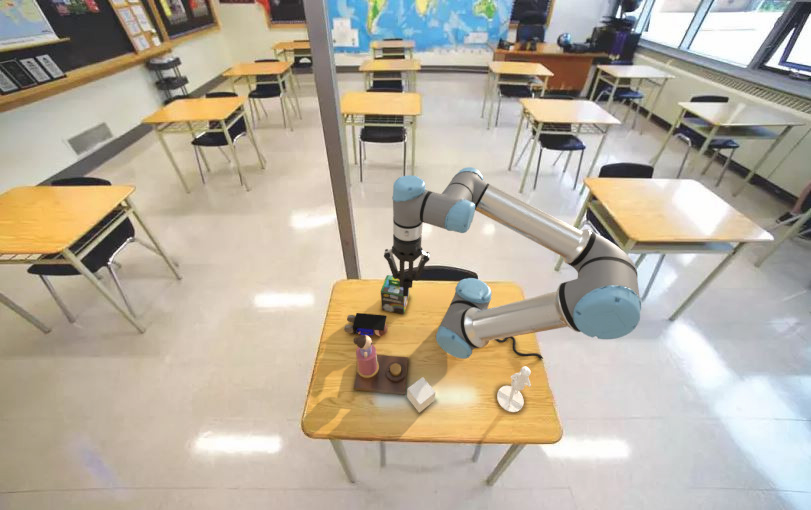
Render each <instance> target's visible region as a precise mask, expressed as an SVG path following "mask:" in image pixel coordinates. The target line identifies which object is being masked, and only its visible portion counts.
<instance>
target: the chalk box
mask: <svg viewBox="0 0 811 510" xmlns="http://www.w3.org/2000/svg"><path fill="white" fill-rule="evenodd" d="M409 298H410V289H409V290H408V297H407V296H403V287H400V280H399V279H394V278H393V275H392V274H387V275H386V276H385V279H384V281H383V284H382V286H381V288H380V299H381V300H380V301H381V302H380V303H381V310H382V311H385V312H390V313H395V314H400V315H405V312H406V310H407V306H408V303H409Z"/></svg>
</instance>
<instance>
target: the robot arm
mask: <svg viewBox="0 0 811 510" xmlns="http://www.w3.org/2000/svg"><path fill="white" fill-rule="evenodd" d="M392 187H393V188H392V197H391V200H392V215H393V216H392V233H393V234H392V244H393V245H392V246H391V248H390V249H388V248H386V249H384V253H383V258H384V259H385V260H386V261H387V263H388V267H389V269H390V273H391V276H393V278H394V279H399V280H400V287H403V296H407V297H408V290H409V291H410V289H412V288H413V281H416V282H417V281H419V279H420V278H421V275H422V273H423V270H424V268H425V266H426V264H427V263H428V262H429V261H430V258H431V257H430V255H431V254H430V251H424V250H423V247H422V240H423V239H422V236H423V224H427V225H430V226H434V227H437V228H441V229H444V230H446V231H448V232H455V233H460V234H465V233H467V232H468V231H469V230H470V228H471V225H472V223H473V220H474V216H475V212H477V213H479V214H481V215H483V216H485V217H487V218H488V219H490V220H493V221H495V222H496V223H498V224H499V225H502V226H504V227H506V228H507V229H509V230H512V231H513V232H515V233H517V234H520V235H521V236H523V237H525V238H526V239H528V240H530V241H532V242H534V243H535V244H537V245H540V246H541V247H544V248H545V249H547V250H549V251H551V252H553V253H554V254H557V255H559V256H560V257H562V258H563V262H564V263H565V264H567V265H569V266H571V267H572V268H573V269H574V270H575V271H576V272H577V278H574V279H570V280H568V281H564V282H561V283H559V285H558V286H557V289H556V291H553V292H549V293H545V294H540V295H537V296H532V297H529V298H526V299H525V298H524V299H521V300H518V301H517V300H516V301H514V302H513V301H512V302H510V303H506V304H502V305H498V306H493V307H489V306H490V302H491V300H492V293H493V292H492V290H491V287H490V286H489V285H488V283H486V282H484V281H483V280H481V279H478V278H474V277H468V278H464V279H461V280H459V281H458V282H457V284H456V286H455V292H454V295H453V298H452V300H451V302H450V304H449V305H448V308H447V310H446V312H445V314H444V316H443V319H441V322H440V325H439V326H438V327H437V331H436V334H435V341H436V343H437V345H438V346H439V348H441V349H442V350H443V351H444V352H445V353H447V354H448V355H450V356H451V357H454V358H457V359H463V360H466V359H469V358H470V356H471V355H472V354H473V350H475V349H480V348H485V347H487V345H489V343H490V341H496V342H497V343H499V344H503V343H506V342H507V340H509V339H511V340H512V351H513V352H514V353H515V354H516V355H517V356H520V357H537V358H539V359H540V360H544V357H543V356H542V355H541V354H539V353H537V352H536V353H535V352H531V353H530V352H529V353H522V352H519V351H518V350H517V348H516V345H517V344H516V343H517V342H516V338H515V337H519V336H522V335H523V336H524V335H529V334H536V333H539V332H540V333H542V332H547V331H552V330H558V329H564V328H569V329H571V330H572V331H574V332H576V333H582V334H583V335H586V336H587V337H590V338H595V337H597V339H598V340H615V339H620V338H623V337H625V336H627V335H629V334H631V333H633V331H634V330H635V329H636V327H637V326H638V325H639V324H640V320H641V310H642V301H641V297H640V288H639V281H638V270H637V266H636V264H635V263H634V261H633V260H632V258H631V257H630V256H629V254H627V252H625V251H624V250H622V248H620V247H619V246H618V245H616V244H615V243H614V242H612V241H610V240H609V239H607V238H605V237H604V236H602V235H600V234H598V233H596V232H594V231H593V230H590V229H588V228H586V229H578V228H577V227H574V226H573V225H570V224H569V223H567V222H565V221H563V220H561V219H559V218H557V217H555V216H553V215H551V214H549V213H548V212H545V211H543V210H542V209H540V208H537V207H536V206H533V205H531V204H529V203H527V202H526V201H523V199H520V198H518V197H516V196H514V195H512V194H510V193H508V192H506V191H503V190H502V189H500V188H498V187H496V186H494V185H492V184H490V183H488V182H487V181H485V180H484V176H483V174H482V173H481V171H480V170H478V169H477V168H475V167H471V166H467V167H463V168H461V169H460V170H459V171H458V172H457V173H456V174H454V176H453V177H452V178H451V180H450V182H449V183H448V185H447V186H446V187H445V188H444V190H443V191H442V193H439V192H436V191H431V190H427V188H426V183H425V180H424V179H422V178H420V176H417V175H408V174H407V175H402V176H400V177H398V178H397V179H395V180H394V183H393V186H392ZM395 257H396V259H397V260H399V270H398V266H397V263H396V260H395ZM419 257H420V259H419ZM417 259H419V261H418V265H417V268H416V269H415V272H414V262H415V261H416V260H417ZM405 262H407V263H408V275H405ZM541 358H542V359H541Z"/></svg>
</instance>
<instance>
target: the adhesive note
mask: <svg viewBox="0 0 811 510" xmlns="http://www.w3.org/2000/svg"><path fill="white" fill-rule="evenodd" d="M406 392H407V393H406V397H407V399H408V400H409V402H410V403H411V404H412V406H413V407H414V408H415V409H416V412H418V413H421V412H422V411H424V410H425V409H426V408H427V407H429V406H430V405H431V404H432V403H434V401H435V398H436V390H435V389H433V387H432V386H431V384H429V383H428V381H427V380H426V379H425V378H424V377H423V376H422V377H421V378H419V379H418V380H417V381H415V382H414V383H413V384H411V385H410V386H409V387H408V388H407V391H406Z"/></svg>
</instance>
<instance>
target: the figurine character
mask: <svg viewBox="0 0 811 510" xmlns="http://www.w3.org/2000/svg"><path fill="white" fill-rule="evenodd" d="M387 318H388V315H385V314H373V313H361V312H356V313H355V315H354V314H348V315H347V317H346V321H347V322H348V323H351V324H345V325H344V327H343V331H344V332H346V333H349V334H353V335H360V336H361V335H367V336H373V335H374V334H375V335H376V336H377V337H383V336H385V335H386V334H387V332H388V325H387V324H386V323H387Z"/></svg>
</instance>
